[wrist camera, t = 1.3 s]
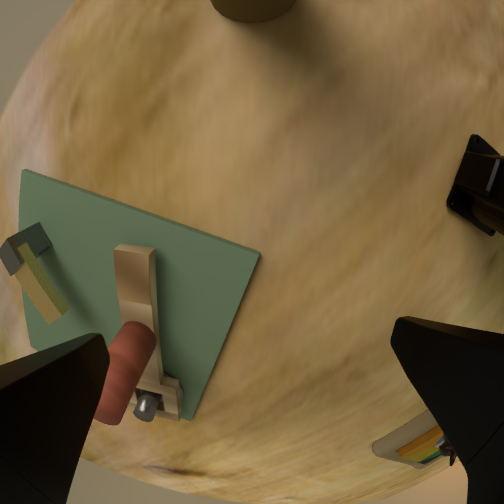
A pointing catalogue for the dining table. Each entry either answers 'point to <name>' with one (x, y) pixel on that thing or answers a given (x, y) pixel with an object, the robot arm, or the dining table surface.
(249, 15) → the cork
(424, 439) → the wooden puzzle
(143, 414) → the pintle
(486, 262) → the dining table surface
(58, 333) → the latch board
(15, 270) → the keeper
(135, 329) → the latch bar
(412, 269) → the dining table surface
